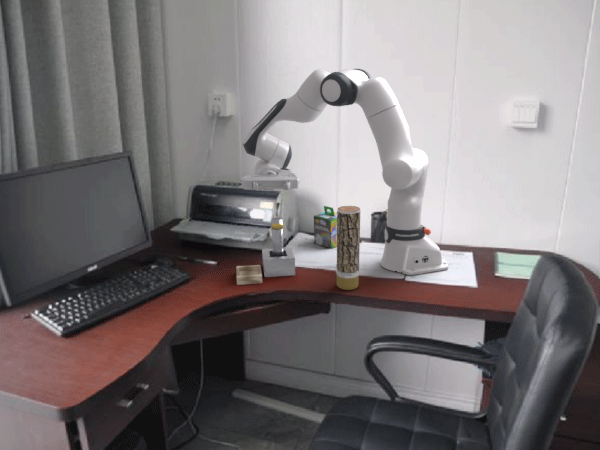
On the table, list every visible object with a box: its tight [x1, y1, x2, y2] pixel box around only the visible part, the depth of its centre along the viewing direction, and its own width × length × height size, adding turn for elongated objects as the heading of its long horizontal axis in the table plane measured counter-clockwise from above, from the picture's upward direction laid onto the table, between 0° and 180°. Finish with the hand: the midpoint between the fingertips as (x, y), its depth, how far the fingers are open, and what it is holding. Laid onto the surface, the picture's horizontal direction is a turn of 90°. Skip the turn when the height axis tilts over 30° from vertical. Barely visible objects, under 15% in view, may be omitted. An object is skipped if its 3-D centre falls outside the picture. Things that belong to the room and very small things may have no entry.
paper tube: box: [336, 205, 361, 291], centre depth 152 cm, size 7×7×25 cm
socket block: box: [261, 247, 296, 278], centre depth 167 cm, size 10×10×6 cm
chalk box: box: [313, 205, 337, 249], centre depth 190 cm, size 9×9×15 cm
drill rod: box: [270, 217, 284, 257], centre depth 165 cm, size 4×4×18 cm
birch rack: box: [235, 264, 263, 286], centre depth 162 cm, size 8×9×3 cm
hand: (272, 188), depth 171 cm, fingers open, 8 cm apart
